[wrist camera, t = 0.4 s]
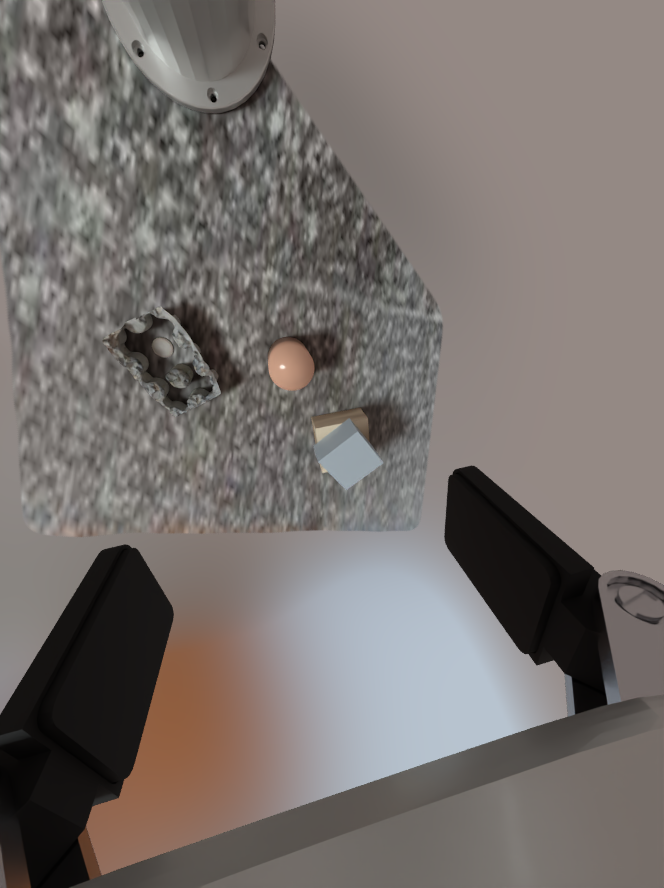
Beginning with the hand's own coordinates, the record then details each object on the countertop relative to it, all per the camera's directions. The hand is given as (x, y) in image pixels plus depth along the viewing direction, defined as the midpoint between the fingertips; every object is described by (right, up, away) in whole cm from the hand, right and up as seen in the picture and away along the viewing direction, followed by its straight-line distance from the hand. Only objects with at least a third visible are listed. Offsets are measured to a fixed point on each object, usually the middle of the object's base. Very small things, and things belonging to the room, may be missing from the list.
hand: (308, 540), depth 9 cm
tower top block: (+2, +3, +32) cm, 32 cm away
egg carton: (-18, +13, +27) cm, 34 cm away
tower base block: (+2, +5, +36) cm, 36 cm away
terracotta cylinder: (-5, +14, +29) cm, 32 cm away
